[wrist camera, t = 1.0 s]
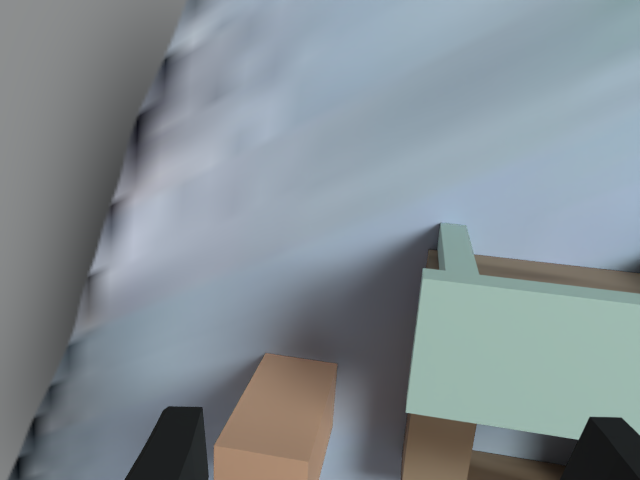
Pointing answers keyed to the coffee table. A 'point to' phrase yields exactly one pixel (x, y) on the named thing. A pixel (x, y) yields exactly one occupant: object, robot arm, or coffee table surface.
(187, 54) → the coffee table surface
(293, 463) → the tan peg
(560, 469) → the socket plate
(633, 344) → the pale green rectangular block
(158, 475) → the robot arm
